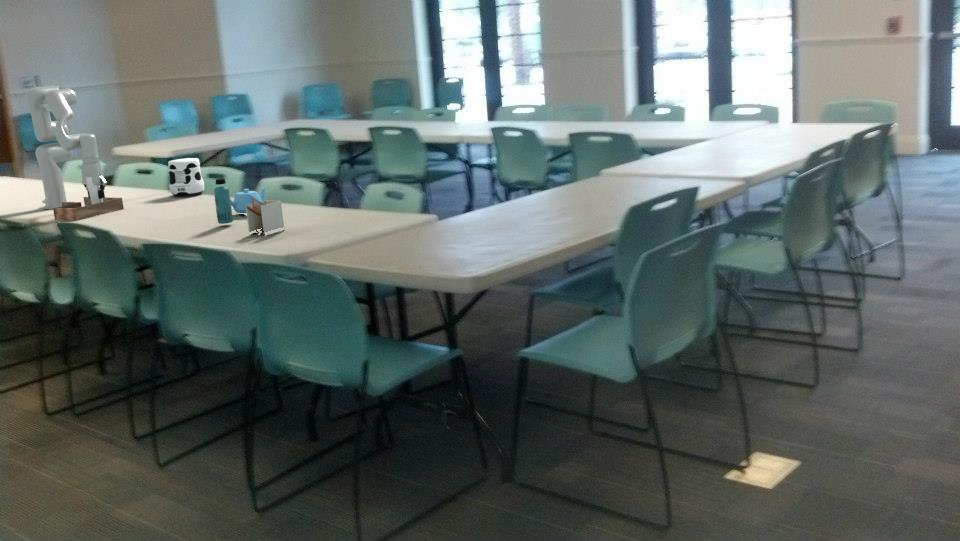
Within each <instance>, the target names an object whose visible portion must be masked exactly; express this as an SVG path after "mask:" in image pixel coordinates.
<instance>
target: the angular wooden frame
mask: <svg viewBox="0 0 960 541" xmlns="http://www.w3.org/2000/svg"><path fill="white" fill-rule="evenodd" d="M82 198H83V203H84V205H82V202H79V201H67V202H62V206H60V207H56V208H53V209H52V210H53V215H54V220H55V221H75V222H76V221H81V220H85V219H88V218H93V217H96V215H97V216H101V215H100V214H102V215H105V213H106V214H109V212H110V213H113V212H114V213H115V212H117V211H121V210H125V209H124V202H123V197H109V196H108V197H106V196H105V198H103V202H100V203H96V204H92V203H91V199H90V198H88V196H84V197H82Z"/></svg>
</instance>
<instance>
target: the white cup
mask: <svg viewBox="0 0 960 541" xmlns="http://www.w3.org/2000/svg"><path fill="white" fill-rule="evenodd" d="M86 181H87V187H88V191H89V195H90V199H91V203H92V204H96V203H100V202H103V198H101V199H99V196H98V187H97V185H93V184H92V177H86ZM99 183H101V182H99ZM99 183H98V184H99ZM99 186H101V185H99Z"/></svg>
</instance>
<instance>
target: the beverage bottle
mask: <svg viewBox="0 0 960 541" xmlns="http://www.w3.org/2000/svg"><path fill="white" fill-rule="evenodd" d="M226 183H227V182H226V179H225V178H217V179H215V186H216V187H215V188H214V189H213V192H214V193H213V194H214V203H215V209H216V210H215V211H216V217H217V218H216V219H217V223H218V224H221V225H222V224H231V223H233V220H234V218H233V217H234V216H233V211H232V210H233V208H232V206H231V202H230V199H231V197H230V188H229V187H228V186H226V185H225V184H226ZM219 185H221V186H219ZM222 185H224V186H222Z"/></svg>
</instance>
